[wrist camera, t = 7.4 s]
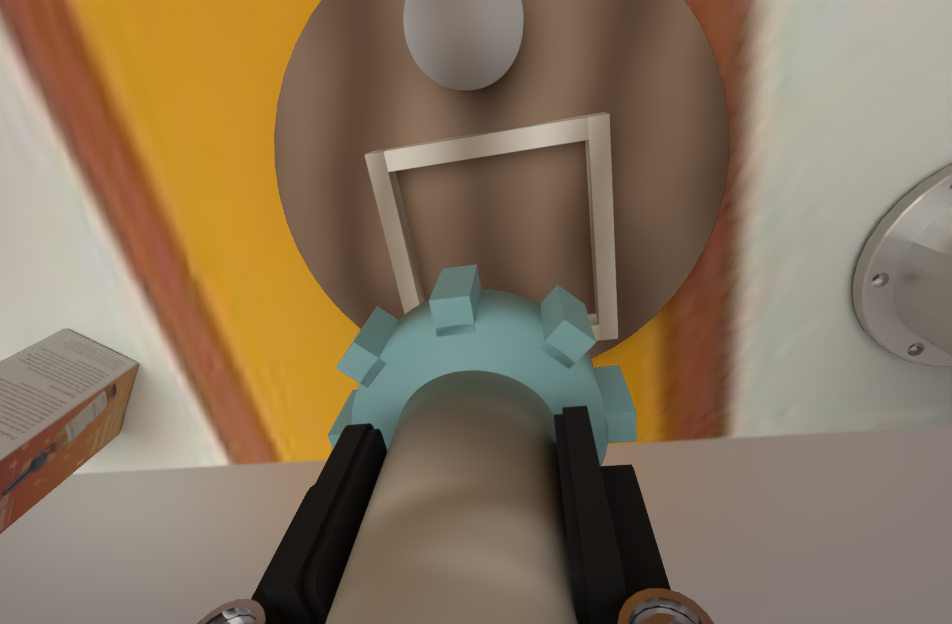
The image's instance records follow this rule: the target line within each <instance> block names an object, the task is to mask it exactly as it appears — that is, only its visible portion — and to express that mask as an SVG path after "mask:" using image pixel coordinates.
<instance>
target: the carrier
mask: <svg viewBox="0 0 952 624" xmlns="http://www.w3.org/2000/svg"><path fill="white" fill-rule="evenodd" d="M274 143H275V168H276V175H277V182H278V189H279V195H280V199H281V202H282V206H283V210H284V213H285V217H286V221H287V224H288V226H289V228H290V231H291V233H292V236H293V238H294V241H295V243H296V246H297V248H298V250H299V252H300V254H301V255H302V257H303V259H304V261H305V263H306V265H307V266H308V268H309V270H310V272H311V273H312V275H313V276H314V278H315V279H316V280H317V282H318V283H319V285H320V286H321V287H322V289H323V290H324V292H325V293H326V294H327V295H328V297H329V298H330V299H331V300H332V301H333V302H334V303H335V304H336V306H337V307H338V308H339V309H340V310H341V311H342V312H343V313H344V314H345V315H346V316H347V317H348V318H349V319H350V320H352V321H353V322H354V323H355V324H356V325H357V326H358V327H359V328H360V329H362V327H363V326H364V324H365V323H366V322H367V320H368V319H369V317H370V316H371V314H372V313H373V311H374V310H375V309H376V307H377V306H378V307H380V308H381V309H383V310H384V311H386V312H387V313H389V314H390V315H392V316H393V317H395V318H397V319H398V320H399V319H400V318H401V317H403V316H404V315H405V314H406V313H407V312H408V311H410V310H411V309H413V308H415V307H416V306H418V305H419V304H421V303H423V302H425V301H427V300H429V299H430V297H431V294H432V292H433V289H434V287H435V285H436V282H437V280H438V278H439V275H440V273H441V271H442V269H444V268H452V267H460V266H468V265H476V264H477V268H478V274H479V280H480V286H481V289H488V290H498V291H504V292H509V293H513V294H517V295H520V296H523V297H526V298H529V299H531V300H533V301H535V302H537V303H540V304H541V303H542V301H543V300H544V299H545V298H546V297H547V296H548V295H549V294H550V292H551V291H552V290H553V289H554V288H555V287H556V286H557V285H559V286H560V287H562V288H563V289H564V290H566V291H567V292H568V293H570V294H571V295H573V296H574V297H575V298H577V299H578V300H579V301H581V302H582V303H583V304H585V307H586V311H587V314H588V317H589V320H590V323H591V327H592V330H593V333H594V336H595V339H596V343H595V344H594V345H593V346H592V347H591V348H590V349H589V350H588V353H589V355H590V357H591V359H592V358H594V357H595V356H597V355H599V354H601V353H603V352H605V351H607V350H609V349H611V348H613V347H615V346H616V345H617V344H619V343H620V342H622V341H623V340H625V339H626V338H628V337H629V336H631V335H632V334H634V333H635V332H637V331H638V330H639V329H640V328H641V327H642V326H643V325H645V324H646V323H647V322H648V321H649V320H650V319H652V318H653V317H654V316H655V315H656V314H657V313H658V312H659V311H660V310H661V309H662V308H663V307H664V306H665V305H666V303H667V302H668V301H669V300H670V299H671V298H672V297H673V296H674V295H675V294H676V292H677V291H678V289H679V288H680V287H681V285H682V284H683V282H684V281H685V280H686V278H687V277H688V276H689V274H690V273H691V271H692V270H693V268H694V266H695V264H696V262H697V261H698V259H699V257H700V255H701V253H702V252H703V250H704V248H705V246H706V244H707V241H708V239H709V236H710V234H711V231H712V229H713V226H714V224H715V222H716V219H717V216H718V212H719V208H720V205H721V201H722V197H723V193H724V189H725V184H726V176H727V168H728V160H729V120H728V113H727V105H726V98H725V91H724V87H723V83H722V80H721V77H720V73H719V70H718V66H717V63H716V59H715V56H714V54H713V52H712V49H711V47H710V45H709V43H708V41H707V38H706V36H705V34H704V32H703V30H702V27H701V25H700V23H699V22H698V20H697V19H696V17H695V16H694V14H693V13H692V11H691V10H690V8H689V7H688V5H687V3H686V2H685V0H322V1H321V2H320V3H319V5H318V6H317V7H316V9H315V10H314V11H313V13H312V14H311V16H310V18H309V20H308V22H307V24H306V25H305V27H304V29H303V31H302V33H301V35H300V37H299V38H298V40H297V42H296V44H295V47H294V50H293V52H292V55H291V58H290V60H289V63H288V66H287V68H286V71H285V74H284V78H283V82H282V87H281V91H280V95H279V100H278V104H277V113H276V123H275V133H274Z"/></svg>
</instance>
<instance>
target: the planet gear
mask: <svg viewBox="0 0 952 624" xmlns="http://www.w3.org/2000/svg"><path fill="white" fill-rule="evenodd" d="M595 343H596V339H595V336H594V333H593V330H592V327H591V323H590V320H589V317H588V314H587V311H586V307H585V304H583V303H582V302H581V301H579V300H578V299H577V298H575V297H574V296H573V295H571V294H570V293H568V292H567V291H566V290H564V289H563V288H562V287H560V286H559V285H557V286H556V287H555V288H554V289H553V290H552V291H551V292H550V294H549V295H548V296H547V297H546V298H545V299H544V300H543V301H542V303H541V304H540V303H537V302H535V301H533V300H531V299H529V298H526V297H523V296H520V295H517V294H513V293H509V292H504V291H498V290H488V289H481V286H480V280H479V274H478V268H477V264H476V265H468V266H460V267H452V268H444V269H442V271H441V273H440V275H439V278H438V280H437V282H436V285H435V287H434V289H433V292H432V294H431V297H430V299H429V300H427V301H425V302H423V303H421V304H419V305H418V306H416V307H415V308H413V309H411V310H410V311H408V312H407V313H406V314H405V315H404V316H403V317H401V318H400V319H399V320H398V319H397V318H395V317H393V316H392V315H390V314H389V313H387V312H386V311H384V310H383V309H381V308H380V307H378V306H377V307H376V309H375V310H374V311H373V313H372V314H371V316H370V317H369V319H368V320H367V322H366V323H365V324H364V326H363V327H362V329H361V330H360V332H359V333H358V335H357V336H356V338H355V339H354V341H353V342H352V344H351V346H350V347H349V349H348V350H347V352H346V353H345V355H344V356H343V358H342V359H341V361H340V362H339V364H338V365H337V367H336V369H338V370H339V371H341V372H343V373H344V374H346V375H347V376H349V377H351V378H352V379H354V380H356V381H357V382H359V383H360V385H359V388H358V390H352V392H351V394H350V396H349V398H348V399H347V401H346V403H345V405H344V407H343V409H342V410H341V412H340V414H339V416H338V418H337V419H336V421H335V423H334V425H333V427H332V429H331V430H330V432H329V434H328V437H329V440H330V442H331V445H332V448H334V447H335V445H336V443H337V441H338V439H339V437H340V435H341V433H342V431H343V429H344V428H345V426H347V425H353V424H365V423H370V424H372V425H373V427H374V429H380V431H381V433H382V435H383V439H384V442H385V445H386V448H387V454H386V457H385V460H384V462H383V465H382V468H381V471H380V473H379V476H378V479H377V482H376V484H375V487H374V490H373V493H372V496H371V498H370V501H369V504H368V507H367V509H366V512H365V515H364V518H363V520H362V523H361V526H360V529H359V532H358V534H357V537H356V540H355V543H354V545H353V548H352V551H351V554H350V557H349V559H348V562H347V565H346V568H345V570H344V573H343V576H342V579H341V581H340V584H339V587H338V590H337V593H336V595H335V598H334V601H333V604H332V606H331V609H330V612H329V615H328V617H327V620H326V623H325V624H578V622H577V619H576V614H575V606H574V597H573V588H572V580H571V571H570V562H569V553H568V543H567V534H566V525H565V516H564V507H563V497H562V488H561V479H560V470H559V461H558V452H557V442H556V433H555V424H554V415H557V414H563V410H562V407H574V406H587V408H588V413H589V417H590V422H591V426H592V431H593V436H594V440H595V445H596V449H597V454H598V458H599V463H600V466H601V465H602V463H603V460H604V458H605V454H606V449H607V445H608V443H616V442H630V441H637V429H636V409H635V407H634V404H633V401H632V399H631V396H630V393H629V390H628V388H627V385H626V382H625V380H624V377H623V374H622V372H621V369H620V366H608V367H597V368H594V367H593V364H592V361H591V357H590V355H589V353H588V350H589V349H590V348H591V347H592V346H593V345H594V344H595Z"/></svg>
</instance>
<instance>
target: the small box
mask: <svg viewBox="0 0 952 624" xmlns="http://www.w3.org/2000/svg"><path fill="white" fill-rule="evenodd" d="M138 365H139V364H138V362H135V361H133V360H131V359H129V358H127V357H125V356H123V355H120V354H118V353H116V352H114V351H112V350H110V349H108V348H106V347H104V346H102V345H100V344H98V343H95V342H93V341H91V340H89V339H87V338H85V337H83V336H81V335H79V334H77V333H75V332H73V331H70V330H68V329H63V330H61V331H59V332H57V333H55V334H53V335H52V336H50V337H48V338H46V339H44V340H42V341H40V342H38V343H36V344H34V345H32V346H30V347H28V348H26V349H24V350H22V351H20V352H18V353H16V354H14V355H12V356H10V357H8V358H6V359H4V360H2V361H0V534H1V533H2V532H3V531H4V530H6V529H7V528H8V527H9V526H10V525H11V524H13V523H14V522H15V521H16V520H17V519H18V518H20V517H21V516H22V515H23V514H25V513H26V512H27V511H28V510H29V509H31V508H32V507H33V506H34V505H35V504H37V503H38V502H39V501H40V500H41V499H42V498H44V497H45V496H46V495H47V494H48V493H50V492H51V491H52V490H53V489H54V488H56V487H57V486H58V485H59V484H60V483H62V482H63V481H64V480H65V479H66V478H67V477H69V476H70V475H71V474H72V473H73V472H75V471H76V470H77V469H78V468H79V467H81V466H82V465H83V464H84V463H85V462H87V461H88V460H89V459H90V458H91V457H92V456H94V455H95V454H96V453H97V452H98V451H100V450H101V449H102V448H103V447H104V446H106V445H107V444H108V443H109V442H110V441H111V440H113V439H114V438H115V437H116V436H117V435H118V434H119V433H120V428H121V423H122V419H123V415H124V412H125V408H126V405H127V402H128V398H129V395H130V391H131V388H132V385H133V381H134V378H135V374H136V372H137V369H138Z"/></svg>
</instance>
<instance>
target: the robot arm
mask: <svg viewBox="0 0 952 624" xmlns="http://www.w3.org/2000/svg"><path fill="white" fill-rule="evenodd" d="M853 303H854V307H855V311H856V315H857V317H858V319H859V321H860V323H861V325H862V327H863V328H864V330H865V331H866V332H867V333H868V334H869V335H870V336H871V337H872V338H873V339H874V340H875V341H876V342H877V343H878V344H880V345H881V346H883V347H884V348H886V349H887V350H888V351H890V352H891V353H893V354H895V355H897V356H899V357H901V358H903V359H905V360H907V361H911V362H915V363H919V364H923V365H928V366H942V367H952V164H951V165H949V166H947V167H945V168H944V169H942V170H941V171H939V172H937V173H936V174H934V175H933V176H931V177H929V178H928V179H926V180H925V181H923V182H921V183H920V184H919V185H918V186H917V187H915V188H914V189H913V190H912V191H911V192H909V193H908V194H907V195H906V196H905V197H903V198H902V199H901V200H900V201H899V202H898V203H897V204H896V205H895V206H894V207H893V208H892V209H891V210H890V212H889V213H888V214H887V215H886V216H885V217H884V218H883V219H882V220H881V222H880V223H879V225H878V226H877V227H876V229H875V230H874V232H873V233H872V235H871V236H870V238H869V239H868V241H867V243H866V245H865V247H864V249H863V251H862V254H861V256H860V258H859V260H858V263H857V267H856V271H855V275H854V279H853ZM562 410H563V414H557V415H554V424H555V433H556V442H557V452H558V461H559V470H560V479H561V488H562V497H563V507H564V516H565V525H566V534H567V543H568V553H569V562H570V571H571V580H572V588H573V597H574V606H575V614H576V619H577V622H578V624H714V623H713V621H712V620H711V618H710V617H709V615H708V614H707V613H706V612H705V611H704V610H703V609H702V608H701V607H700V606H699V605H698V604H697V603H696V602H694V601H693V600H691V599H689V598H688V597H686V596H684V595H682V594H681V593H679V592H675V591H671V589H670V586H669V583H668V579H667V576H666V573H665V569H664V567H663V563H662V559H661V556H660V553H659V550H658V546H657V543H656V540H655V537H654V533H653V530H652V527H651V523H650V520H649V517H648V514H647V510H646V508H645V504H644V501H643V497H642V494H641V491H640V487H639V484H638V481H637V478H636V474H635V471H634V469H633V467H632V465H616V466H600V463H599V458H598V454H597V449H596V445H595V440H594V436H593V431H592V426H591V422H590V417H589V413H588V408H587V406H574V407H562ZM386 454H387V448H386V445H385V442H384V439H383V435H382V433H381V431H380V429H374V427H373V425H372V424H370V423H365V424H353V425H347V426H345V428H344V429H343V431H342V433H341V435H340V437H339V439H338V441H337V443H336V445H335V447H334V448H333V450H332V452H331V454H330V456H329V458H328V460H327V462H326V464H325V466H324V468H323V470H322V472H321V474H320V476H319V478H318V480H317V482H316V483H315V485H313V486H312V487H310V489H309V490H308V492H307V493H306V495H305V497H304V499H303V501H302V503H301V505H300V507H299V509H298V511H297V512H296V515H295V516H294V518H293V520H292V522H291V524H290V526H289V528H288V530H287V531H286V534H285V535H284V537H283V539H282V541H281V543H280V545H279V547H278V549H277V551H276V553H275V554H274V556H273V558H272V560H271V562H270V564H269V566H268V568H267V570H266V571H265V573H264V575H263V577H262V579H261V581H260V583H259V585H258V587H257V589H256V591H255V593H254V594H253V596H252V598H251V599H237V600H234V601H231V602H228V603H225V604H223V605H221V606H220V607H218V608H216V609H214V610H213V611H211V612H210V613H209V614H207V615H206V616H205V617H204V618H203V619H202V620H200V621H199V622H198V623H197V624H325V623H326V620H327V617H328V615H329V612H330V609H331V606H332V604H333V601H334V598H335V595H336V593H337V590H338V587H339V584H340V581H341V579H342V576H343V573H344V570H345V568H346V565H347V562H348V559H349V557H350V554H351V551H352V548H353V545H354V543H355V540H356V537H357V534H358V532H359V529H360V526H361V523H362V520H363V518H364V515H365V512H366V509H367V507H368V504H369V501H370V498H371V496H372V493H373V490H374V487H375V484H376V482H377V479H378V476H379V473H380V471H381V468H382V465H383V462H384V460H385V457H386Z"/></svg>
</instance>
